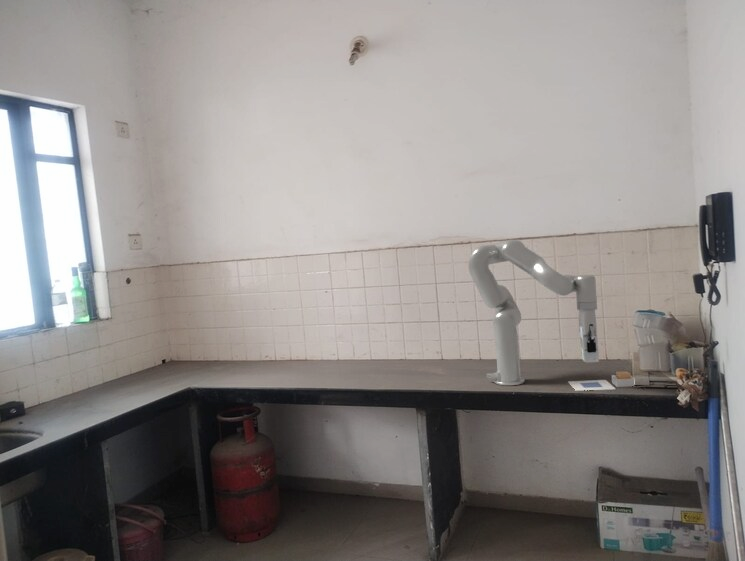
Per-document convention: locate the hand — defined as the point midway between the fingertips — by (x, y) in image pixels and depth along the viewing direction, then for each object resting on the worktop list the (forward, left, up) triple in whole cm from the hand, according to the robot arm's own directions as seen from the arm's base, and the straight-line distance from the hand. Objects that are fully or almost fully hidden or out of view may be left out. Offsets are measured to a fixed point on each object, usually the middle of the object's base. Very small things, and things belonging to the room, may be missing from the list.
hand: (589, 350), depth 223 cm
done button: (+12, 0, -12) cm, 18 cm away
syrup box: (0, 0, -5) cm, 5 cm away
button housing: (+12, 0, -15) cm, 19 cm away
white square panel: (0, 0, -15) cm, 15 cm away
